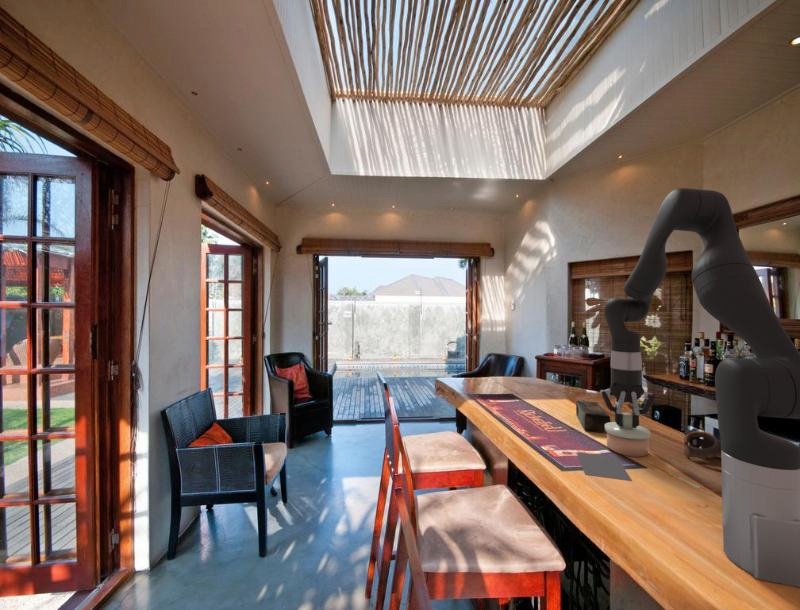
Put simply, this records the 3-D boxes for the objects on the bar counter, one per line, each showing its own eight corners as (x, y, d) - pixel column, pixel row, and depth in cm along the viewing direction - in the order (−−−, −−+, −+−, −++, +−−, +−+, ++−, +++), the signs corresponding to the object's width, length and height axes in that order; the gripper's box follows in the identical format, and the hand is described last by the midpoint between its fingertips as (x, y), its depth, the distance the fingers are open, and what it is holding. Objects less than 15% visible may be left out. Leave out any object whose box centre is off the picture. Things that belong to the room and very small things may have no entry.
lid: (656, 441, 92) (656, 422, 92) (609, 436, 96) (609, 418, 96) (642, 428, 103) (642, 410, 103) (601, 424, 106) (600, 407, 106)
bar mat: (632, 483, 82) (632, 480, 82) (585, 476, 85) (585, 474, 85) (616, 458, 95) (616, 456, 95) (576, 454, 98) (576, 452, 98)
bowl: (654, 461, 93) (653, 442, 93) (611, 456, 96) (611, 438, 96) (641, 447, 102) (641, 430, 102) (603, 443, 106) (603, 426, 106)
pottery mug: (741, 468, 90) (732, 443, 88) (705, 481, 91) (696, 457, 90) (703, 439, 102) (695, 417, 100) (671, 451, 103) (663, 430, 101)
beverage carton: (598, 417, 131) (598, 400, 131) (611, 435, 113) (611, 415, 113) (575, 415, 134) (575, 398, 134) (584, 432, 116) (584, 412, 116)
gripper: (601, 367, 98) (602, 428, 98) (659, 370, 93) (661, 434, 93) (595, 363, 105) (596, 420, 105) (650, 366, 101) (651, 425, 100)
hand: (626, 426), depth 99 cm, fingers closed on lid, 3 cm apart
